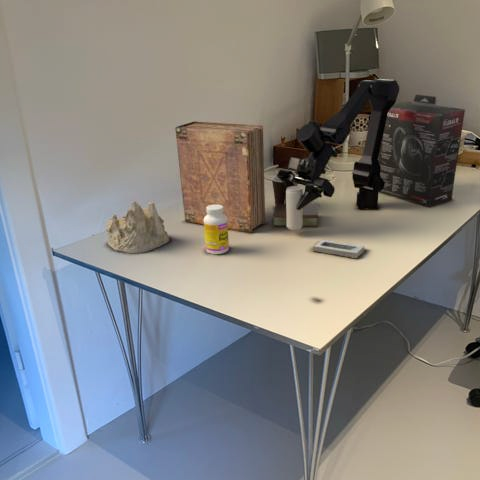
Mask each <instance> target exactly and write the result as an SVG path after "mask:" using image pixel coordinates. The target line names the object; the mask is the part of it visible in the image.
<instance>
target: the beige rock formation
mask: <svg viewBox="0 0 480 480" xmlns="http://www.w3.org/2000/svg"><path fill="white" fill-rule="evenodd" d="M164 222H165V220H164V219H163V218H162V217H161V216H160V215H159V214H158V210H157V207H156V204H155V201H154V202H153V201H149V202H148V204H147V207H142V205H140V204H139V203H137V200H134V199H133V200H131V205H130V209H128V210H127V211H126V213H125V215H124V216H122V217H121V216H120V217H117V214H113V213H112V215H111V217H110V218H109V220H108V222H107V224H106V226H105V229H104V230H105V231H106V232H107V236H108V238H109V239H108V241H107V243H108V244H107V245H108V246H109V247H110V248H112V249H113V250H115V251H116V252H117V251H119V252H123V253H129V254H130V253H131V254H141V253H144V252H145V253H146V252H147V253H148V252H150V251H152V250H155V249H157V248H159V247H162V246H164V245H166V244H167V243H169V242H170V236H169V234H168V231H166V228H165V225H164Z"/></svg>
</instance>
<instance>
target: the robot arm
mask: <svg viewBox="0 0 480 480" xmlns="http://www.w3.org/2000/svg"><path fill="white" fill-rule="evenodd" d="M399 94H400V85H399V84H398V81H397V80H395V79H382V78H377V79H375V80H367V79H366V80H365V79H364V80H361V81H360V82H358V85H357V88H356V89H355V91H354V92H353V93H352V95H351V96H350V97H349V99H348V100H347V101H346V102H345V104H344V105H343V107H341V109H340V110H339V111H338V112H337V114H335V115H333V116H331V117H329V118H328V119H326V121H325V122H323V124H321V126H319V125H318V123H317V122H316V121H315V120H309V121H308V123H306V124H305V125H303V126H301V127H300V128H298V130H297V131H296V139H297V140H298V142H299V143H300V144H301V146H302V147H303V148H304V149H305V151H306V152H307V153H310V154H309V156H307V157H304V158H297V157H293V156H290V158H289V161H288V165H287V169H286V168H281V169H279V170H278V172H277V174H276V176H277V177H278V178H279V179H280V180H281V181H282V182H283V183H284V184H285V185H286V188H287V187H290V186H299V185H301V186H304V191H303V195H302V197H301V199H300V201H299V203H298V205H297V207H296V209H297V210H300V209H302V208H303V207H304V206H306V205H307V204H311V203H312V202H313V201H315V200H317V199H318V198H322V197H323V196H325V197H327V198H333V196H334V194H335V189H336V188H335V186H334V185H333V184H332V182H330V180H329V179H328V178H325V177H321V176H322V175H326V172H327V170H326V167H327V165H328V163H329V162H330V160H331V158H335V159H336V158H338V152H337V147H333V146H332V145H339V146H340V145H343V144H345V141H346V140H347V138H348V136H349V134H350V133H351V125H352V124H353V122H354V121H355V119H356V118H357V117H358V116H359V114H360V113H361V112H362V110H363V109H364V108H365V106H366V105H367V103H368V102H369V104H370V106H371V113H370V119H369V123H368V126H367V127H368V128H367V132H366V137H365V141H364V147H363V151H362V156H361V158H360V159H359V160H358V161H357V160H355V162H354V163H353V169H352V172H351V175H352V181H353V182H352V183H353V187H354V188H355V189H358V191H356V200H355V203H356V204H355V205H356V207H357V209H358V210H378V209H379V204H378V203H379V193H380V192H379V191H381V190H383V189H384V185H385V182H384V181H383V179H382V178H381V176H380V170H381V168H380V164H379V161H378V158H379V151H380V146H381V142H382V137H383V133H384V128H385V124H386V119H387V115H388V111H389V110H390V109H391V107H392V106H393V105H394V104H395V103H397V99H398V96H399ZM291 170H293V171H294V173H293V171H291ZM286 190H287V189H286ZM322 194H323V195H322ZM284 206H286V195H285V201H284Z"/></svg>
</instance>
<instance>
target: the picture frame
mask: <svg viewBox="0 0 480 480" xmlns="http://www.w3.org/2000/svg"><path fill="white" fill-rule="evenodd" d="M311 251H313V252H318V253H324V254H328V255H337V256H341V257H347V258H352V259H357V258H358V257H360V256H361V255H362V254H364V252H365V251H366V250H365V246H364V245H359V244H353V243H346V242H340V241H333V240H327V239H321V240H320V241H318V242H317V243H316V244H315V245H313V248H312V249H311ZM319 300H320V299H319V298H315V301H319Z"/></svg>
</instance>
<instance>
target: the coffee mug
mask: <svg viewBox="0 0 480 480" xmlns="http://www.w3.org/2000/svg"><path fill="white" fill-rule="evenodd" d="M271 182H272V190H273V197H274V198H273V199H274V205H275V206H276V204H284V201H285V195H286V185H285V184H284V183H283V182H282V181H281V180H280V179H279V178H278V177H277V175H276V176H274V177H272V178H271ZM275 206H274V207H275Z"/></svg>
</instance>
